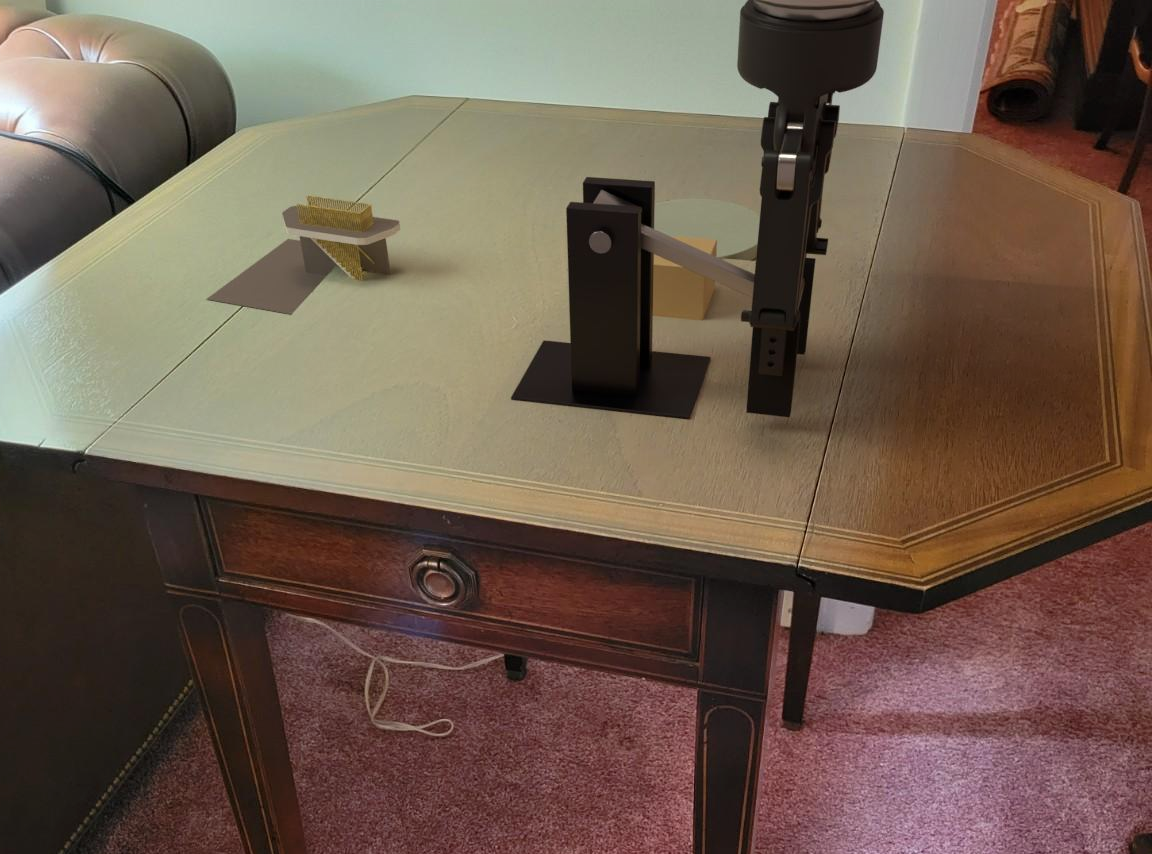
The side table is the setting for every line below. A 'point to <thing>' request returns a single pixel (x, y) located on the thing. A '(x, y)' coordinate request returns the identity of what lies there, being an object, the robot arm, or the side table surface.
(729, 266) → the blade
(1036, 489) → the side table surface
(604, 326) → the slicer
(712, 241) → the cake slice
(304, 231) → the platform
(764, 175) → the robot arm
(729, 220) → the plate
